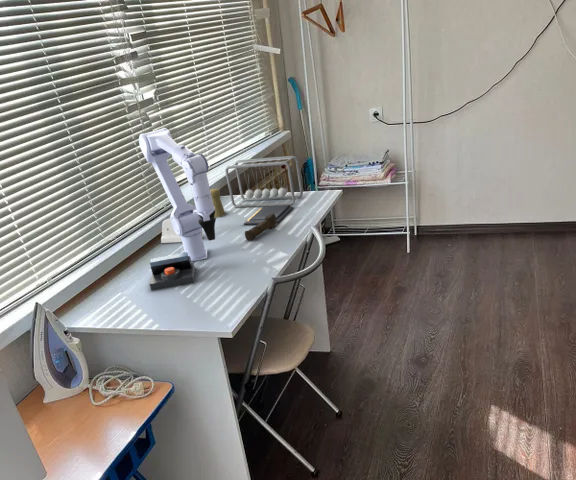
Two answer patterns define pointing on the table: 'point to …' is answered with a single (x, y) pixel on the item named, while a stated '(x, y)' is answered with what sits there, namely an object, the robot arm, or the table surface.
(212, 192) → the cork
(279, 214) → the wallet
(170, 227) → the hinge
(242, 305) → the table surface
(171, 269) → the button
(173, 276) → the control box
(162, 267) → the black and grey bar
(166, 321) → the table surface
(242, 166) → the newton's cradle
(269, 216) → the hand tool
